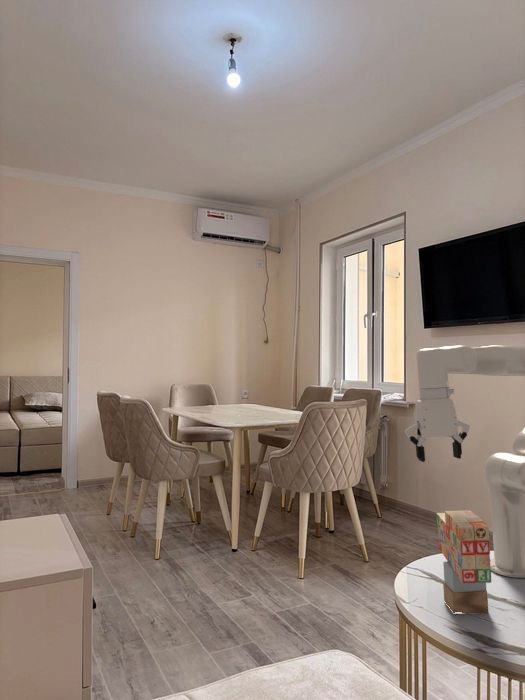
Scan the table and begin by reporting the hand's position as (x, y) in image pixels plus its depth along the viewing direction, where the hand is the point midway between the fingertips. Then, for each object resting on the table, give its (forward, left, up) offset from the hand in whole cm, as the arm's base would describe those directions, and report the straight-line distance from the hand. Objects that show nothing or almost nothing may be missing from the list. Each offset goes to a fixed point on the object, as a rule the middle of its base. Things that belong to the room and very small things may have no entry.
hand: (439, 459), depth 139 cm
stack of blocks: (+1, +14, -22) cm, 27 cm away
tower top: (+1, +15, -27) cm, 31 cm away
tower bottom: (+1, +15, -32) cm, 35 cm away
